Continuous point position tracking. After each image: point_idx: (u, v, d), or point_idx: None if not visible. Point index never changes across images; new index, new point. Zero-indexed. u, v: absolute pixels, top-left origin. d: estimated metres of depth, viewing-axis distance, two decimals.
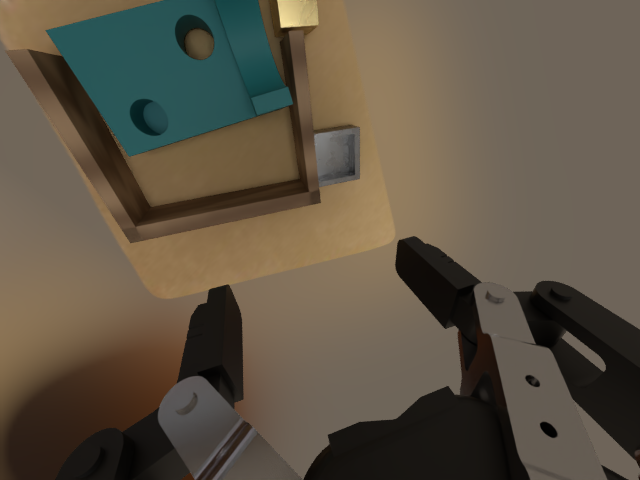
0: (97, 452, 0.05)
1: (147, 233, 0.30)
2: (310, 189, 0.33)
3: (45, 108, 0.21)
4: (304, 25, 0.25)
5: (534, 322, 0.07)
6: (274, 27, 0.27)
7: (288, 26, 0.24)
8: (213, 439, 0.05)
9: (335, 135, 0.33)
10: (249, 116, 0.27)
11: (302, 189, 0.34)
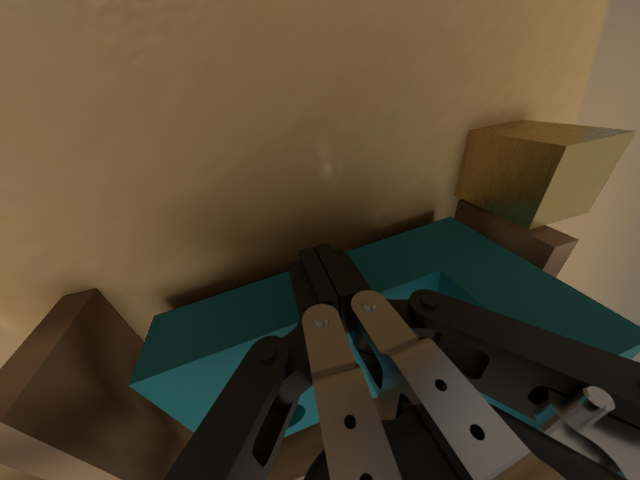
0: (273, 351, 0.07)
1: None
2: None
3: (49, 476, 0.09)
4: None
5: None
6: (465, 188, 0.15)
7: (540, 224, 0.12)
8: (330, 357, 0.06)
9: None
10: None
11: None
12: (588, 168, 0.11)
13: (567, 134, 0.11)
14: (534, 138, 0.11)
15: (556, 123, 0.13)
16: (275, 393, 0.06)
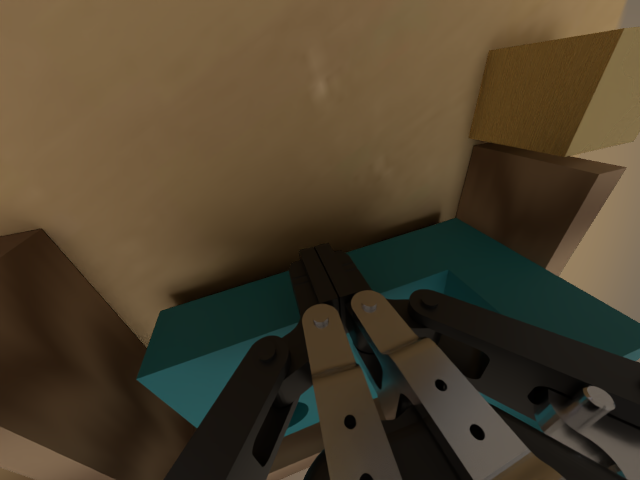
0: (273, 352, 0.07)
1: None
2: None
3: None
4: (607, 145, 0.10)
5: None
6: (482, 125, 0.13)
7: (578, 152, 0.10)
8: (330, 357, 0.06)
9: None
10: None
11: None
12: None
13: None
14: None
15: None
16: (275, 393, 0.06)
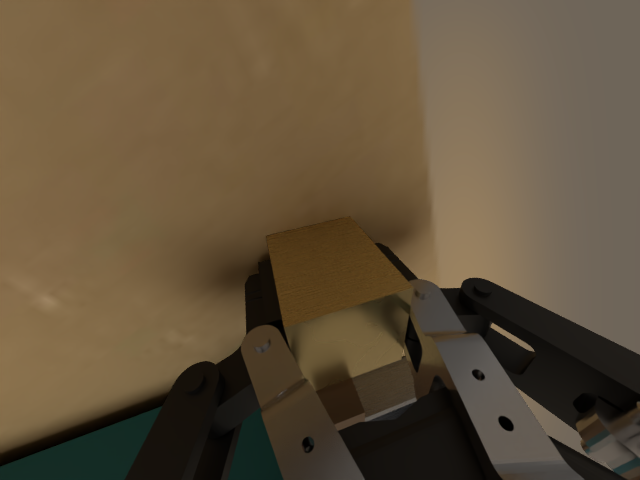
0: (201, 379, 0.06)
1: None
2: None
3: None
4: (365, 369, 0.09)
5: (457, 316, 0.08)
6: None
7: (323, 385, 0.09)
8: (277, 381, 0.06)
9: (393, 409, 0.18)
10: None
11: None
12: (356, 333, 0.07)
13: (334, 279, 0.08)
14: (290, 283, 0.08)
15: (365, 236, 0.10)
16: (210, 421, 0.06)
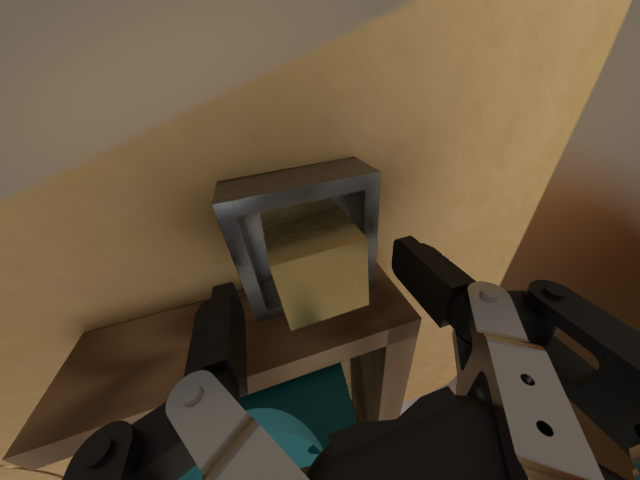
0: (107, 444, 0.05)
1: None
2: (381, 345, 0.13)
3: None
4: (339, 312, 0.12)
5: (527, 321, 0.07)
6: None
7: (306, 323, 0.11)
8: (219, 433, 0.05)
9: (249, 269, 0.12)
10: None
11: None
12: (326, 275, 0.10)
13: (309, 237, 0.10)
14: (276, 241, 0.10)
15: (338, 208, 0.12)
16: None
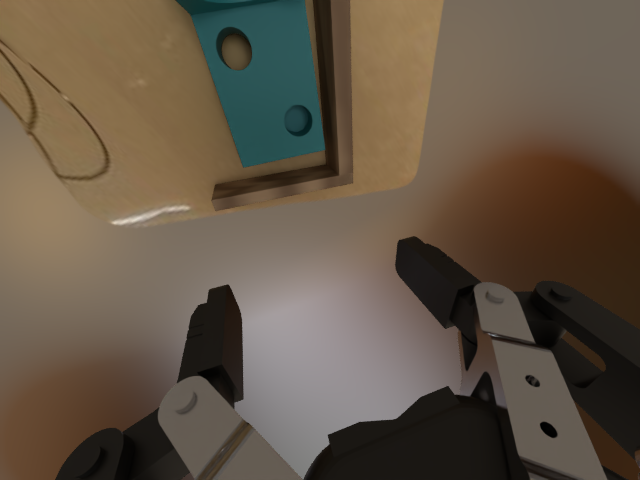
0: (97, 452, 0.05)
1: (347, 167, 0.32)
2: None
3: (247, 203, 0.31)
4: None
5: (534, 322, 0.07)
6: None
7: None
8: (213, 439, 0.05)
9: None
10: (303, 6, 0.23)
11: None
12: None
13: None
14: None
15: None
16: None
